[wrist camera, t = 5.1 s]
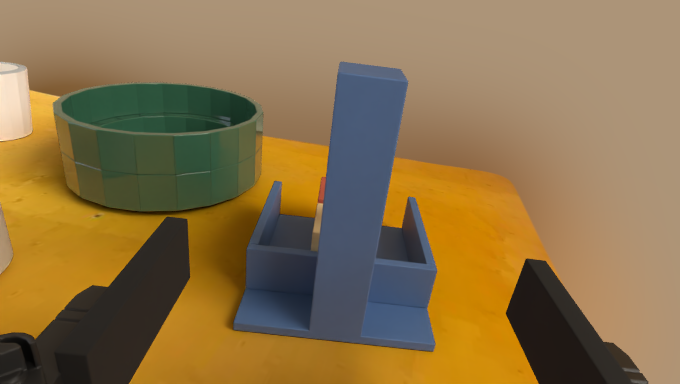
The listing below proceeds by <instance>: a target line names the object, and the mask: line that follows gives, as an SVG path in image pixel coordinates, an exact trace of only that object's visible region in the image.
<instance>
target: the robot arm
mask: <svg viewBox="0 0 680 384" xmlns="http://www.w3.org/2000/svg"><path fill="white" fill-rule="evenodd" d="M189 278H190V267H189V246H188V225H187V219H183V218H175V217H166V219H165V220H164V221H163V222H162V223H161V224H160V226H159V227H158V228H157V229H156V230H155V232H154V233H153V234H152V235H151V236H150V238H149V239H148V240H147V241H146V242H145V244H144V245H143V246H142V247H141V248H140V250H139V251H138V252H137V253H136V254H135V256H134V257H133V258H132V259H131V260H130V262H129V263H128V264H127V265H126V266H125V268H124V269H123V270H122V271H121V272H120V274H119V275H118V276H117V277H116V278H115V280H114V281H113V282H112V283H111V284H110V285H109V287H103V286H94V285H92V286H91V287H89V288H87V289H86V290H84V291H82V292H81V293H79V294H77V295H76V296H75V297H74V298H73V299H72V300H71V301H70V302H69V304H68V305H67V306H66V307H65V309H64V310H62V311H61V312H60V313H59V314H58V315H57V317H56V319H55V320H53V321H52V322H51V323H50V324H49V325H48V326H47V327H46V329H45V330H44V331H43V332H42V333H41V334H40V335H39V336H38V337H37V338H36V339H35V340H34V338H33V336H31V335H28V334H26V333H8V334H3V335H0V384H129V382H130V381H131V379H132V377H133V375H134V374H135V372H136V370H137V368H138V367H139V365H140V363H141V361H142V360H143V358H144V356H145V355H146V353H147V351H148V349H149V348H150V346H151V344H152V342H153V341H154V339H155V337H156V335H157V334H158V332H159V330H160V329H161V327H162V325H163V323H164V322H165V320H166V318H167V316H168V315H169V313H170V311H171V309H172V308H173V306H174V304H175V303H176V301H177V299H178V297H179V296H180V294H181V292H182V290H183V289H184V287H185V285H186V283H187V282H188V280H189ZM506 315H507V317H508V319H509V321H510V324H511V326H512V328H513V330H514V332H515V334H516V336H517V338H518V340H519V343H520V345H521V347H522V349H523V351H524V353H525V355H526V357H527V360H528V362H529V364H530V366H531V368H532V370H533V372H534V374H535V376H536V379H537V381H538V383H539V384H648V381H647V380H646V378H645V377H644V376H643V374H642V373H640V372H639V369H638V368H637V366H636V365H635V364H634V363H633V361H632V360H631V359H630V357H629V356H628V355H627V354H626V353H624V352H623V351H622V350H621V349H620V348H618V347H617V346H616V345H615V344H614V343H609V342H603V341H602V339H601V338H600V337H599V335H598V334H597V332H596V331H595V330H594V328H593V327H592V325H591V324H590V322H589V321H588V320H587V318H586V317H585V315H584V314H583V313H582V311H581V310H580V308H579V307H578V306H577V304H576V303H575V301H574V300H573V299H572V297H571V296H570V294H569V293H568V292H567V290H566V289H565V287H564V286H563V285H562V283H561V282H560V280H559V279H558V278H557V276H556V275H555V273H554V272H553V271H552V269H551V268H550V266H549V265H548V264H547V262H546V261H542V260H534V259H526V260H525V263H524V266H523V268H522V271H521V274H520V276H519V279H518V282H517V284H516V287H515V290H514V292H513V295H512V298H511V300H510V303H509V306H508V308H507V311H506Z"/></svg>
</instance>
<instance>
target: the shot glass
mask: <svg viewBox="0 0 680 384" xmlns="http://www.w3.org/2000/svg"><path fill="white" fill-rule="evenodd" d="M32 131H33V127H32V117H31V106H30V95H29V85H28V74H27V68H26V67H25V66H23V65H19V64H15V63H6V62H0V141H7V140H15V139H18V138H22V137H25V136H27V135H29V134H31V133H32Z"/></svg>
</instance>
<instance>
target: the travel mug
mask: <svg viewBox="0 0 680 384" xmlns="http://www.w3.org/2000/svg"><path fill="white" fill-rule="evenodd" d="M12 257H13V249H12V246H11V242H10V238H9V234H8V230H7V226H6V223H5V219H4V215H3V211H2V207H1V204H0V274H1V273H2V272H3V271H4V270H5V269H6V268H7V266H8V265H9V264H10V262H11V260H12Z"/></svg>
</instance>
